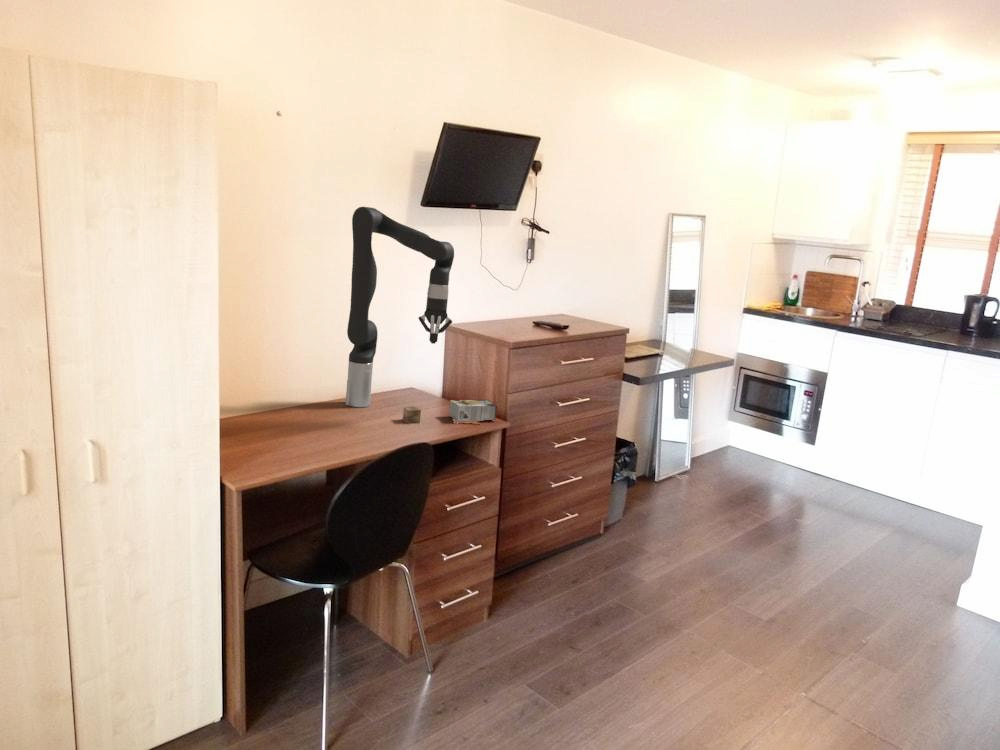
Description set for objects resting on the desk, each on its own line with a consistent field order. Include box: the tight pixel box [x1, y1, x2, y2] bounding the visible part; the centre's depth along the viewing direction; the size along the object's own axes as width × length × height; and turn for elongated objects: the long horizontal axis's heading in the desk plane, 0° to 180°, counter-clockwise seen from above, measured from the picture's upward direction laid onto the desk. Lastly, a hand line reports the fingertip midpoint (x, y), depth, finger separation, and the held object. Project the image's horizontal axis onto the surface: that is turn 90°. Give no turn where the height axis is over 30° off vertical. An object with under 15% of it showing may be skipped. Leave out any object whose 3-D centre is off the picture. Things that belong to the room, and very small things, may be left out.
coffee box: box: [448, 399, 498, 422], centre depth 273 cm, size 9×6×16 cm
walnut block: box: [402, 406, 422, 424], centre depth 261 cm, size 5×5×5 cm
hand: (433, 343), depth 262 cm, fingers closed
